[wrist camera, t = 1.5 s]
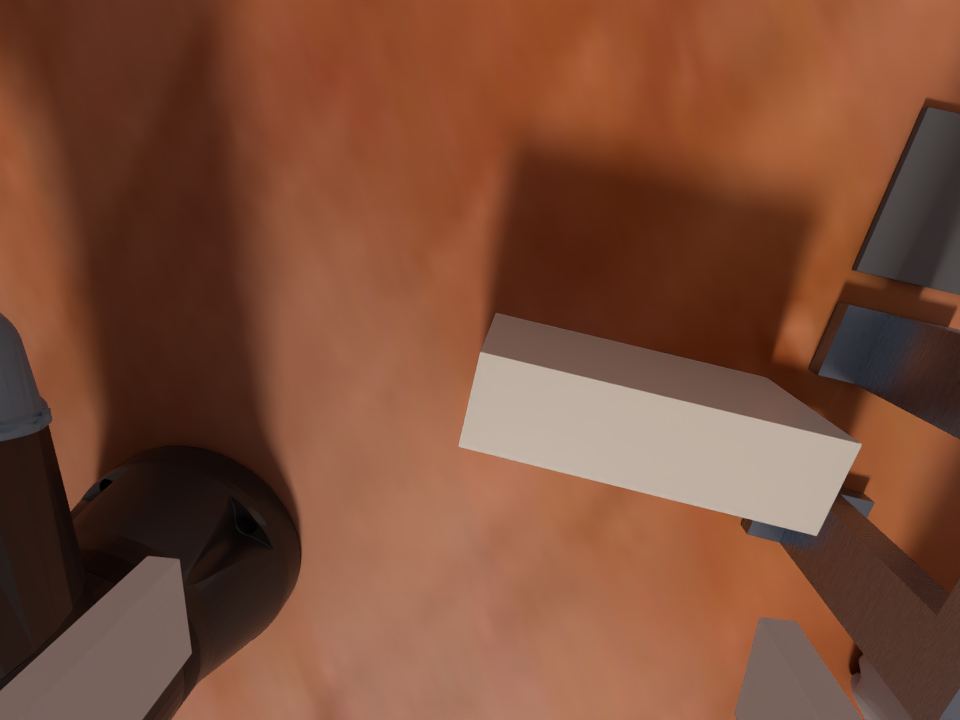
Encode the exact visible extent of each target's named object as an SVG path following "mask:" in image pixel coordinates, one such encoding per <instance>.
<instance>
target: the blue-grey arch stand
mask: <svg viewBox="0 0 960 720" xmlns="http://www.w3.org/2000/svg"><path fill="white" fill-rule="evenodd" d="M808 370H810V371H812V372H813V373H815V374H817V375H820V376H824V377H828V378H833V379H837V380H841V381H845V382H849V383H854V384H856V385H858V386H860V387H862V388H863V389H865V390H867V391H869V392H871V393H873V394H875V395H877V396H879V397H881V398H882V399H884V400H886V401H888V402H890V403H892V404H894V405H896V406H898V407H899V408H901V409H903V410H905V411H907V412H909V413H911V414H913V415H915V416H917V417H918V418H920V419H922V420H924V421H926V422H928V423H930V424H932V425H934V426H936V427H937V428H939V429H941V430H943V431H945V432H947V433H949V434H951V435H953V436H955V437H956V438H958V439H960V330H957V329H953V328H950V327H945V326H941V325H937V324H932V323H928V322H924V321H920V320H915V319H911V318H907V317H902V316H898V315H894V314H889V313H885V312H881V311H877V310H872V309H868V308H864V307H859V306H855V305H851V304H846V303H842V302H838V303H837V305H836V308H835V310H834V312H833V314H832V317H831V319H830V321H829V324H828V326H827V328H826V330H825V333H824V335H823V337H822V340H821V342H820V344H819V346H818V349H817V351H816V353H815V356H814V358H813V360H812V362H811V365H810V367H809V369H808ZM873 505H874V502H873V501H872V500H871V499H870V498H869V497H867V496H866V495H865V494H864V493H859V492H855V491H851V490H847V489H843V488H840V490H839V492H838V494H837V496H836V498H835V500H834V502H833V504H832V506H831V508H830V510H829V512H828V515H827V517H826V519H825V521H824V523H823V525H822V527H821V529H820V531H819V533H818V535H817V536H814V535H810V534H806V533H802V532H798V531H794V530H790V529H786V528H782V527H778V526H774V525H770V524H766V523H762V522H758V521H754V520H750V519H746V518H743V520H742V523H741V526H742V527H743V529H744V530H745V532H746V533H747V534H748V535H752V536H756V537H760V538H764V539H768V540H772V541H776V542H780V543H781V545H782V546H783V547H784V549H785V550H786V551H787V553H788V554H789V555H790V557H791V558H792V559H793V561H794V562H795V563H796V565H797V566H798V567H799V569H800V570H801V571H802V573H803V574H804V575H805V577H806V578H807V579H808V581H809V582H810V583H811V585H812V586H813V587H814V589H815V590H816V591H817V593H818V594H819V595H820V597H821V598H822V599H823V601H824V602H825V603H826V605H827V606H828V607H829V609H830V610H831V611H832V613H833V614H834V615H835V617H836V618H837V619H838V621H839V622H840V623H841V625H842V626H843V627H844V629H845V630H846V631H847V633H848V634H849V635H850V637H851V638H852V639H853V641H854V642H855V643H856V645H857V646H858V647H859V649H860V650H861V651H862V653H863V654H864V655H865V657H866V658H867V659H868V661H869V662H870V663H871V665H872V666H873V667H874V669H875V670H876V671H877V673H878V674H879V675H880V677H881V678H882V679H883V681H884V682H885V683H886V685H887V686H888V687H889V689H890V690H891V691H892V693H893V694H894V695H895V697H896V698H897V699H898V701H899V702H900V703H901V705H902V706H903V707H904V709H905V710H906V711H907V713H908V714H909V715H910V717H911V718H912V719H913V720H960V579H959V580H958V582H957V584H956V585H955V587H954V588H953V590H952V592H951V593H950V594H949V593H948V592H947V591H946V590H945V589H944V588H943V587H942V586H941V585H939V584H938V583H937V582H936V581H935V580H934V579H933V578H932V577H931V576H930V575H928V574H927V573H926V572H925V571H924V570H923V569H922V568H921V567H920V566H919V565H918V564H916V563H915V562H914V561H913V560H912V559H911V558H910V557H909V556H908V555H907V554H905V553H904V552H903V551H902V550H901V549H900V548H899V547H898V546H897V545H896V544H894V543H893V542H892V541H891V540H890V539H889V538H888V537H887V536H886V535H885V534H883V533H882V532H881V531H880V530H879V529H878V528H877V527H876V526H875V525H874V524H873V523H871V522H870V521H869V520H868V519H867V516H868V515H869V513H870V511H871V509H872V507H873Z"/></svg>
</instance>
